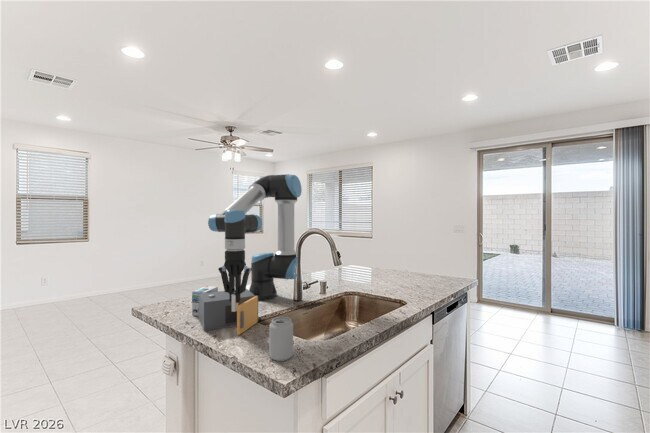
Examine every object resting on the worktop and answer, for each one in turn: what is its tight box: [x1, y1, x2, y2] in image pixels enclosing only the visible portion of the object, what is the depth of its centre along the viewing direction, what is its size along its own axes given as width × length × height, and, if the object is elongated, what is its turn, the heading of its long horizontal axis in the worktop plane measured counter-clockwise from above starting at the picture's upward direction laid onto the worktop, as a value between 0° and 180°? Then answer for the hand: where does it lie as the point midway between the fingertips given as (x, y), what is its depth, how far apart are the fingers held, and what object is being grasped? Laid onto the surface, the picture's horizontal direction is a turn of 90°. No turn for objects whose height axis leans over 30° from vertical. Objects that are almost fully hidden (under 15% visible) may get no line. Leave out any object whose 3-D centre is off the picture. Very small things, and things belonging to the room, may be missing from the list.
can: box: [268, 316, 294, 362], centre depth 100 cm, size 8×8×12 cm
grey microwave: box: [198, 288, 255, 332], centre depth 132 cm, size 21×14×12 cm
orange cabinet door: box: [236, 296, 259, 335], centre depth 123 cm, size 15×2×10 cm, turn 165°
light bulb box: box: [191, 285, 219, 317], centre depth 142 cm, size 11×7×11 cm, turn 168°
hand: (234, 310), depth 122 cm, fingers closed
